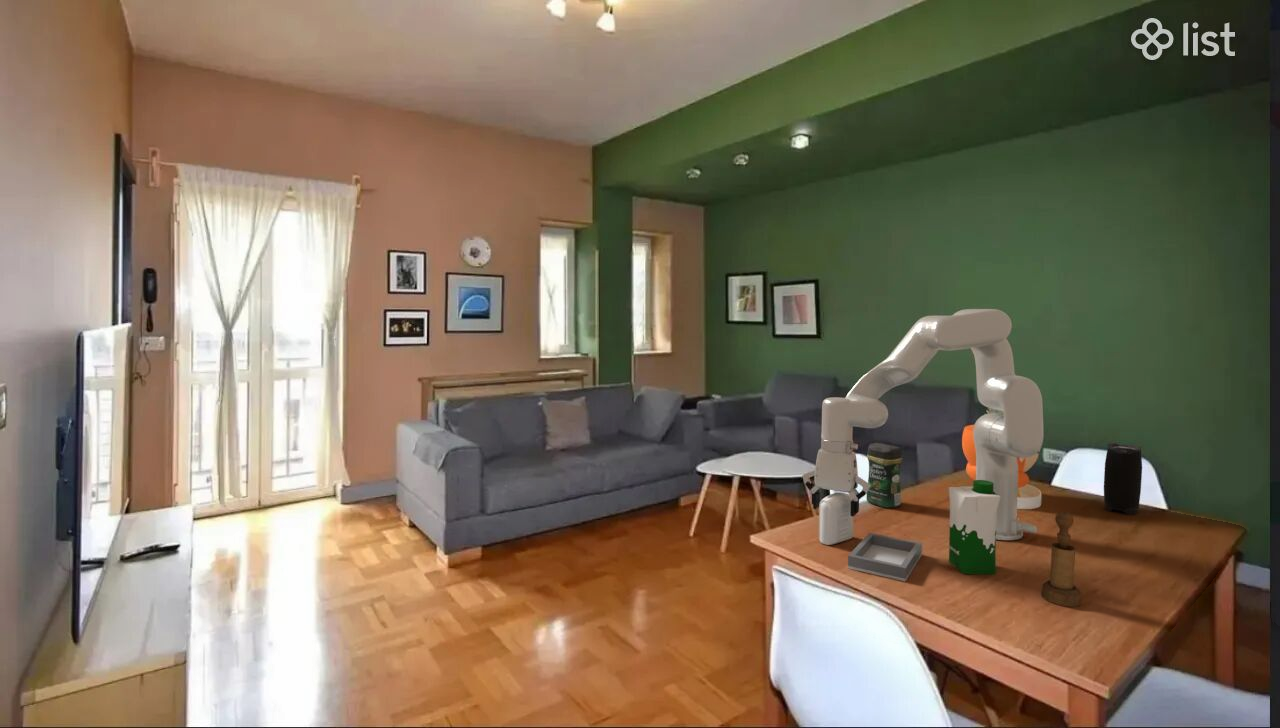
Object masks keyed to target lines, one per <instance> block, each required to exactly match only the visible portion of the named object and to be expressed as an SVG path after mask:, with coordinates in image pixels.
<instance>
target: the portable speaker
mask: <svg viewBox="0 0 1280 728" xmlns="http://www.w3.org/2000/svg"><path fill="white" fill-rule="evenodd" d="M1103 475H1104V476H1103V502H1104V509H1105V510H1107V511H1109V512H1112V511H1113V510H1114V511H1115V510H1116V511H1120V512H1123V513H1124V514H1126V515H1135V514H1138V511H1139V508H1140V500H1141V493H1142V492H1141V491H1142V476H1143V460H1142V446H1140V445H1137V444H1130V445H1129V444H1128V445H1126V444H1120V443H1116V442H1115V443H1113V442H1112V443H1111V442H1110V443H1108V444H1107V449H1106V456H1105V463H1104V474H1103Z"/></svg>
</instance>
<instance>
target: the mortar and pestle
mask: <svg viewBox="0 0 1280 728" xmlns="http://www.w3.org/2000/svg"><path fill="white" fill-rule="evenodd" d="M1054 521H1055V523H1056V525H1057V526H1058V528H1059V531H1058V532H1057V533H1056V536H1057V541H1058V542H1052V543H1051V555H1050V556H1051V558H1050V571H1049V572H1050V574H1049V580H1047V581H1045V582H1042V586H1041V587H1042V589H1041V596H1042V598H1043V599H1044V600H1047V602H1050V603H1052V604H1053V605H1058V606H1063V607H1068V608H1069V607H1071V608H1072V607H1074V608H1075V607H1078V606H1080V605H1081V601H1082V600H1081V599H1082V591H1081V590H1080V589H1078V587H1077V586H1076V585H1074V579H1075V567H1076V566H1075V562H1076V552H1077V551H1076V547H1075V546H1073V545H1071V544H1069V543H1070V541H1071V537H1072V536H1071V535H1070V534H1069V530H1070V528H1071V527H1072V526H1073V524H1074V517H1073V516H1072V515H1071V514H1070V513H1069V512H1066V511H1061V512H1058V513H1057V514H1056V515H1055V517H1054Z"/></svg>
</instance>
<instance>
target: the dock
mask: <svg viewBox="0 0 1280 728" xmlns="http://www.w3.org/2000/svg"><path fill="white" fill-rule="evenodd" d="M922 554H923V543H922V542H920V541H914V540H910V539H905V538H897V537H895V536H894V537H893V536H888V535H883V534H877V533H873V532H868V533H867V535H865V537H864V538H863V539H862V540H861V541H860V543H858V544H857V545H856V547H854V548H853V550H851V552H850V553H849V554H848V555H847V568H848V569H850V570H854V571H857V572H858V571H859V572H863V573H867V574H872V575H874V576H875V575H876V576H881V577H884V578H889V579H893V580H897V581H901V582H906V581H907V580H908V577H909V576H910V575H911V573H912V571H913V570H914V568H915V566H916V565H917V563H918V562H919V560H920V559H921V557H922V556H923V555H922Z"/></svg>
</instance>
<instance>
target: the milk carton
mask: <svg viewBox="0 0 1280 728" xmlns="http://www.w3.org/2000/svg"><path fill="white" fill-rule="evenodd" d="M972 481H973V482H972V486H966V485H965V486H963V485H961V486H949V487H948V492H949V534H948V535H949V538H948V540H949V543H948V562H949V563H950V565H953V567H954V568H956V569H957V570H958V571H959V572H960V573H962V574H963V575H996V574H997V572H996V571H997V570H996V567H997V566H996V565H997V561H996V560H997V559H996V558H997V557H996V556H997V553H996V552H997V551H996V550H997V548H996V547H997V540H996V522H997V509H998V505H999V501H1000V496H999V495H998V494H996V493H995V492H994V491H993V482H990V481H986V480H972Z"/></svg>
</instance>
